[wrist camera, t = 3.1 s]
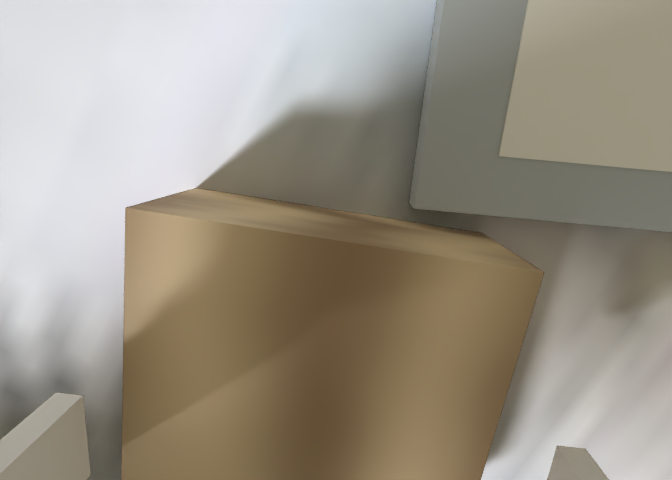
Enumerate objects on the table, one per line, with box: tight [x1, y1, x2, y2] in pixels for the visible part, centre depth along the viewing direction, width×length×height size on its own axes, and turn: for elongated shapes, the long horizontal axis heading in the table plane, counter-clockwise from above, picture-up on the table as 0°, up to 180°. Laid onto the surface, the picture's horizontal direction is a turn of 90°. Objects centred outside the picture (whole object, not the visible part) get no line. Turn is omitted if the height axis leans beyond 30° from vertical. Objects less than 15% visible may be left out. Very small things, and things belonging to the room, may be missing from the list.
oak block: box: [121, 188, 544, 480], centre depth 14 cm, size 11×13×5 cm
